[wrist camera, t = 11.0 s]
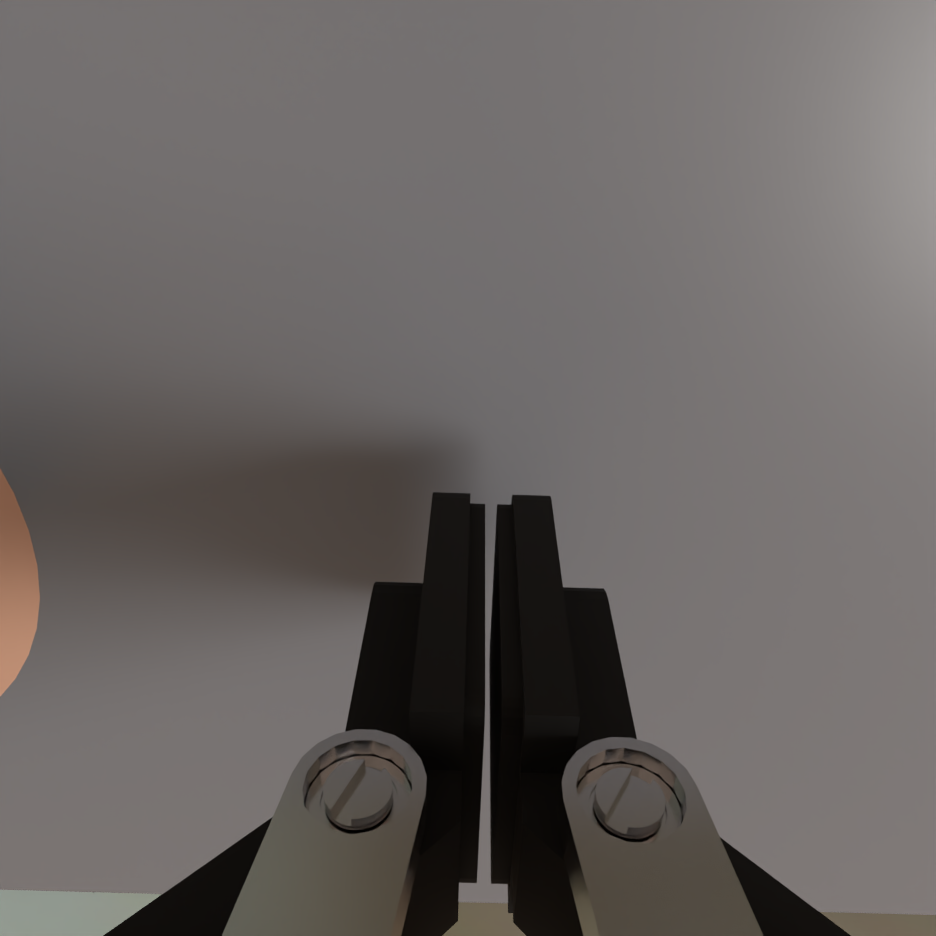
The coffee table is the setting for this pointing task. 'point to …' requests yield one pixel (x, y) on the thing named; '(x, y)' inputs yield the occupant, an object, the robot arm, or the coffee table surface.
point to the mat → (466, 398)
